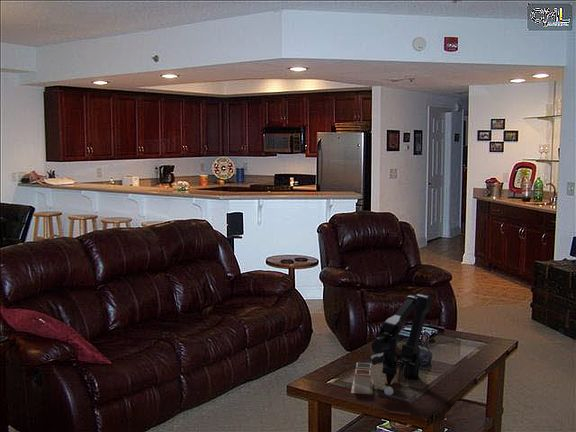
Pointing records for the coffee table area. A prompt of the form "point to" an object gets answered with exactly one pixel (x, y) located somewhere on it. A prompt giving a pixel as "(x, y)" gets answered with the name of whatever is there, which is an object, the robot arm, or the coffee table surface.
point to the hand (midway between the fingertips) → (388, 382)
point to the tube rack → (362, 379)
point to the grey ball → (388, 390)
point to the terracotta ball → (386, 381)
